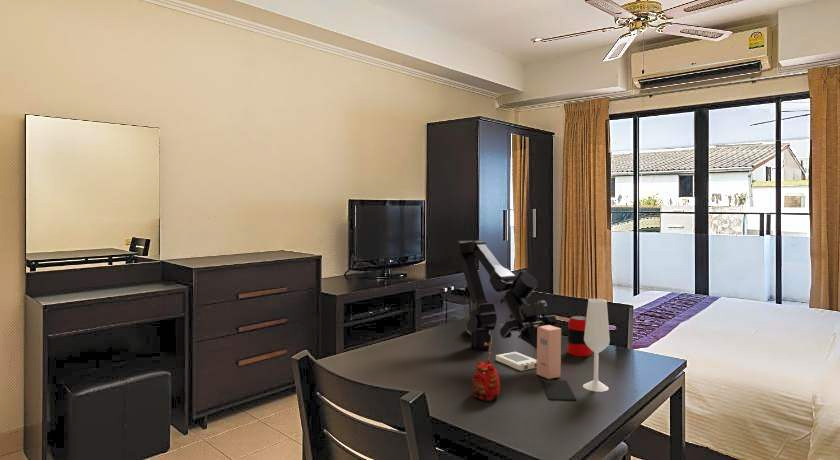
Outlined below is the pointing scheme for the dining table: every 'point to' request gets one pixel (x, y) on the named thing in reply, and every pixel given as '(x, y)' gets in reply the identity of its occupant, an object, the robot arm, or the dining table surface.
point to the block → (548, 351)
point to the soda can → (577, 337)
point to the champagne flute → (596, 337)
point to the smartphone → (558, 390)
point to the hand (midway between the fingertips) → (542, 350)
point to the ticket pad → (517, 361)
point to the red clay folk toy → (486, 380)
